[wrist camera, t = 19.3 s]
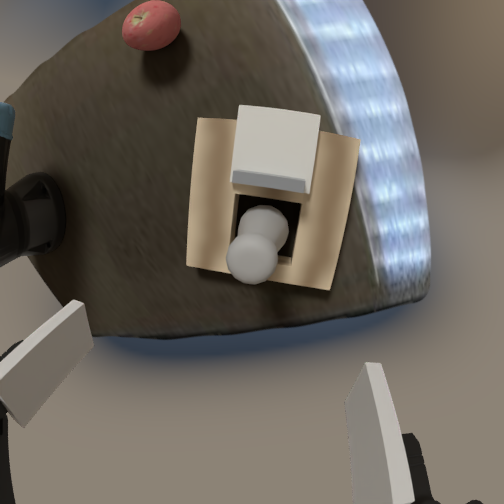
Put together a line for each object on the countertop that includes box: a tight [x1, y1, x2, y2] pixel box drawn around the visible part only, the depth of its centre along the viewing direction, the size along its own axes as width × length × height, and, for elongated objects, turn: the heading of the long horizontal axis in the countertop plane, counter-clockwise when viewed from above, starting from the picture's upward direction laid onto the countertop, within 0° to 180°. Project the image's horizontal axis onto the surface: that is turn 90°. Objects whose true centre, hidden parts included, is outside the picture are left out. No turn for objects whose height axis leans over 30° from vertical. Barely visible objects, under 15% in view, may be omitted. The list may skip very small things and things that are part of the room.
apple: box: [122, 0, 181, 51], centre depth 23 cm, size 7×7×8 cm
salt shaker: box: [226, 205, 289, 284], centre depth 28 cm, size 6×6×13 cm
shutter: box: [230, 105, 321, 194], centre depth 26 cm, size 8×8×4 cm
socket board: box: [187, 118, 360, 290], centre depth 31 cm, size 18×18×3 cm
